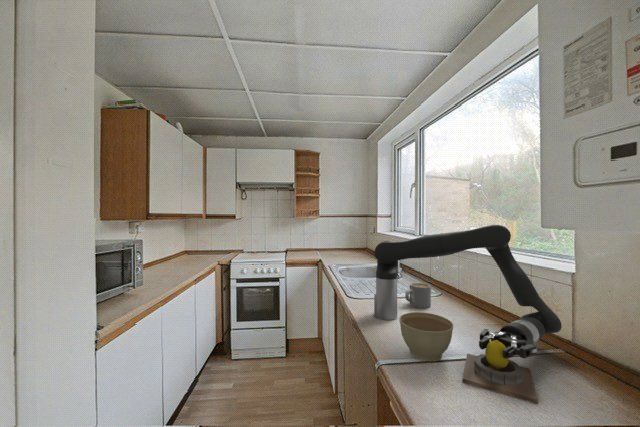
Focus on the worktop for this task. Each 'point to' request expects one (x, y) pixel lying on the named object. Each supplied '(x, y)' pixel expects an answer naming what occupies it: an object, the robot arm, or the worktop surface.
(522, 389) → the stand
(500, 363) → the lemon
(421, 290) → the coffee mug
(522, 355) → the robot arm
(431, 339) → the planter bowl
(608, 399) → the worktop surface
